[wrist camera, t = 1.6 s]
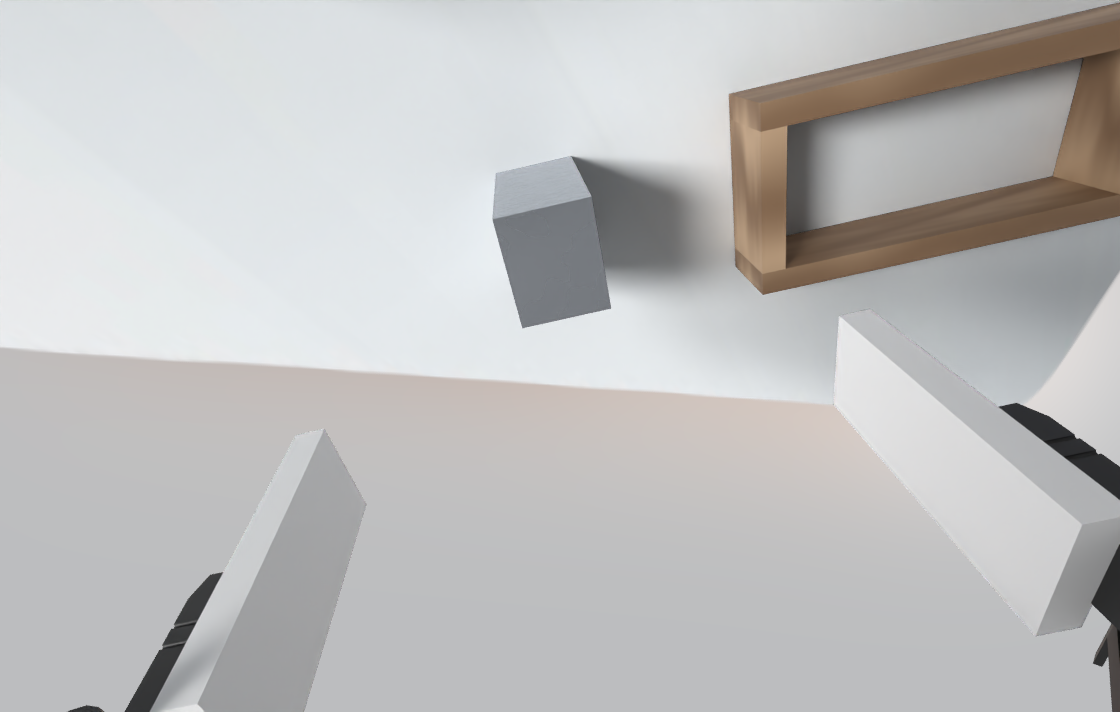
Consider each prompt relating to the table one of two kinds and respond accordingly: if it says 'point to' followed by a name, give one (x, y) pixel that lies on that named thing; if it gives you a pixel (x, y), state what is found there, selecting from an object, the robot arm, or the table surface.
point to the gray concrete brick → (549, 242)
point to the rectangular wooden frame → (947, 226)
